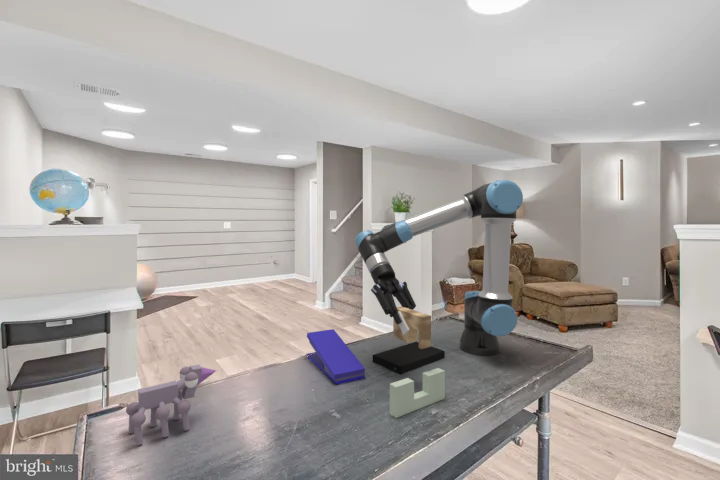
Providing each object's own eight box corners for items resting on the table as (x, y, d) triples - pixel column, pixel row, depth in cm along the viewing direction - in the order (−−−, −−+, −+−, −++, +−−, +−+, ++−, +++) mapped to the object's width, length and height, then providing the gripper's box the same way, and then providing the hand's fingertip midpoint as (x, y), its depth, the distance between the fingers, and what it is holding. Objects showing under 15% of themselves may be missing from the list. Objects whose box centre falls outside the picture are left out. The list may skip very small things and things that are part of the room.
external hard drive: (444, 359, 131) (444, 351, 131) (400, 375, 117) (400, 366, 117) (415, 348, 142) (415, 341, 142) (372, 362, 128) (372, 354, 128)
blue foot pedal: (331, 352, 139) (331, 327, 138) (367, 379, 114) (367, 349, 114) (303, 357, 133) (303, 331, 133) (334, 387, 109) (334, 355, 108)
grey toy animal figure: (212, 404, 98) (211, 356, 97) (224, 421, 89) (222, 368, 89) (126, 430, 86) (124, 375, 85) (130, 452, 77) (128, 391, 77)
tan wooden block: (393, 336, 111) (393, 307, 110) (401, 334, 113) (402, 306, 112) (421, 349, 100) (422, 317, 99) (430, 346, 102) (431, 315, 101)
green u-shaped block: (438, 395, 103) (438, 367, 102) (444, 398, 100) (444, 370, 100) (389, 413, 92) (389, 383, 92) (395, 418, 90) (395, 387, 90)
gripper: (395, 274, 126) (426, 333, 112) (355, 278, 117) (384, 342, 104) (404, 261, 121) (438, 320, 108) (364, 264, 112) (395, 329, 99)
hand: (412, 331), depth 106 cm, fingers closed on tan wooden block, 3 cm apart
